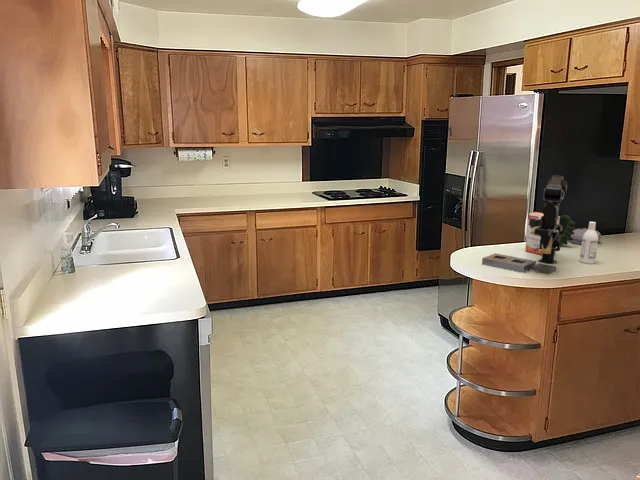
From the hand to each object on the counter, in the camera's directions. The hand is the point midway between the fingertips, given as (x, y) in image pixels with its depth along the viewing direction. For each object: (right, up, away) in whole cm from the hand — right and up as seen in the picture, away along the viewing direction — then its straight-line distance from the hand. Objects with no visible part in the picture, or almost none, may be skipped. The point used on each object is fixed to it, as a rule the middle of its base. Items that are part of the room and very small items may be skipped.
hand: (546, 248), depth 237 cm
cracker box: (+12, -4, +35) cm, 37 cm away
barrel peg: (0, -2, 0) cm, 2 cm away
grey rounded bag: (+49, +2, +64) cm, 81 cm away
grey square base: (0, -10, +2) cm, 11 cm away
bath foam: (+28, -7, +19) cm, 35 cm away
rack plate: (-14, -8, +10) cm, 19 cm away
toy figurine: (+28, +1, +59) cm, 65 cm away
